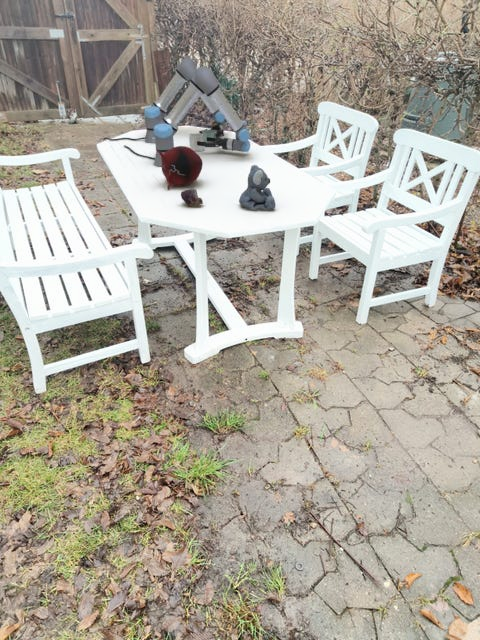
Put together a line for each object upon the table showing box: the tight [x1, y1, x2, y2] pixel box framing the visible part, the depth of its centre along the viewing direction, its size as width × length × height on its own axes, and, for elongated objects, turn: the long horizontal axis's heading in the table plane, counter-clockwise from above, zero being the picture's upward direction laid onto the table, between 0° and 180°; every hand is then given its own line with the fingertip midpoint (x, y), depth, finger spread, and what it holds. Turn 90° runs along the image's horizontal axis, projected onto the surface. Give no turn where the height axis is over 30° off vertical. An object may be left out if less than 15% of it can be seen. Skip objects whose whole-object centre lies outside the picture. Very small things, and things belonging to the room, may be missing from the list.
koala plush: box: [238, 164, 276, 211], centre depth 224 cm, size 17×18×20 cm
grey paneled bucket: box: [188, 132, 205, 153], centre depth 321 cm, size 10×10×10 cm
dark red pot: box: [158, 145, 203, 191], centre depth 255 cm, size 21×24×25 cm
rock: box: [180, 188, 204, 207], centre depth 229 cm, size 12×9×10 cm
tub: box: [201, 129, 217, 143], centre depth 335 cm, size 11×11×9 cm
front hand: (202, 141), depth 319 cm, fingers open, 13 cm apart
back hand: (208, 135), depth 332 cm, fingers open, 12 cm apart
